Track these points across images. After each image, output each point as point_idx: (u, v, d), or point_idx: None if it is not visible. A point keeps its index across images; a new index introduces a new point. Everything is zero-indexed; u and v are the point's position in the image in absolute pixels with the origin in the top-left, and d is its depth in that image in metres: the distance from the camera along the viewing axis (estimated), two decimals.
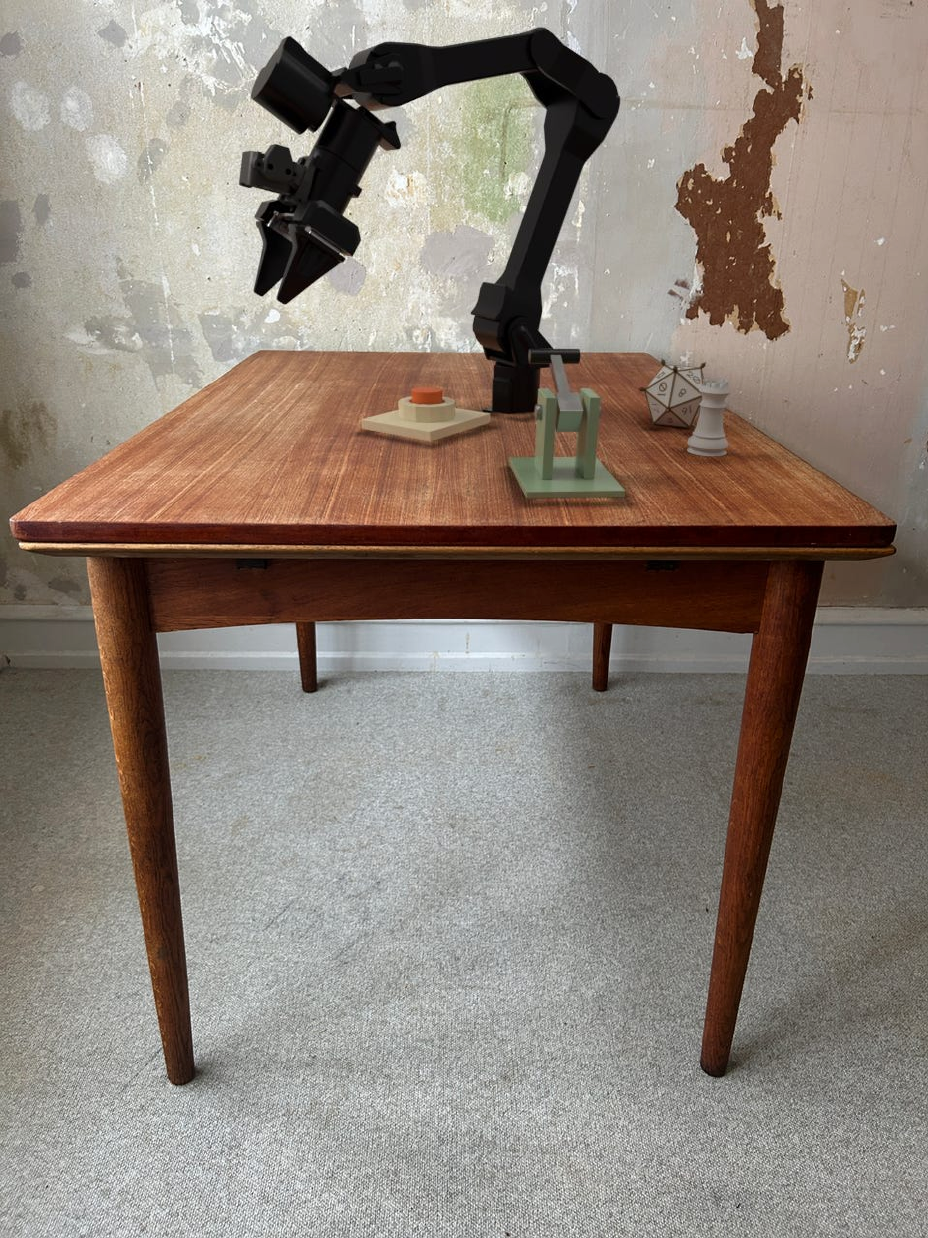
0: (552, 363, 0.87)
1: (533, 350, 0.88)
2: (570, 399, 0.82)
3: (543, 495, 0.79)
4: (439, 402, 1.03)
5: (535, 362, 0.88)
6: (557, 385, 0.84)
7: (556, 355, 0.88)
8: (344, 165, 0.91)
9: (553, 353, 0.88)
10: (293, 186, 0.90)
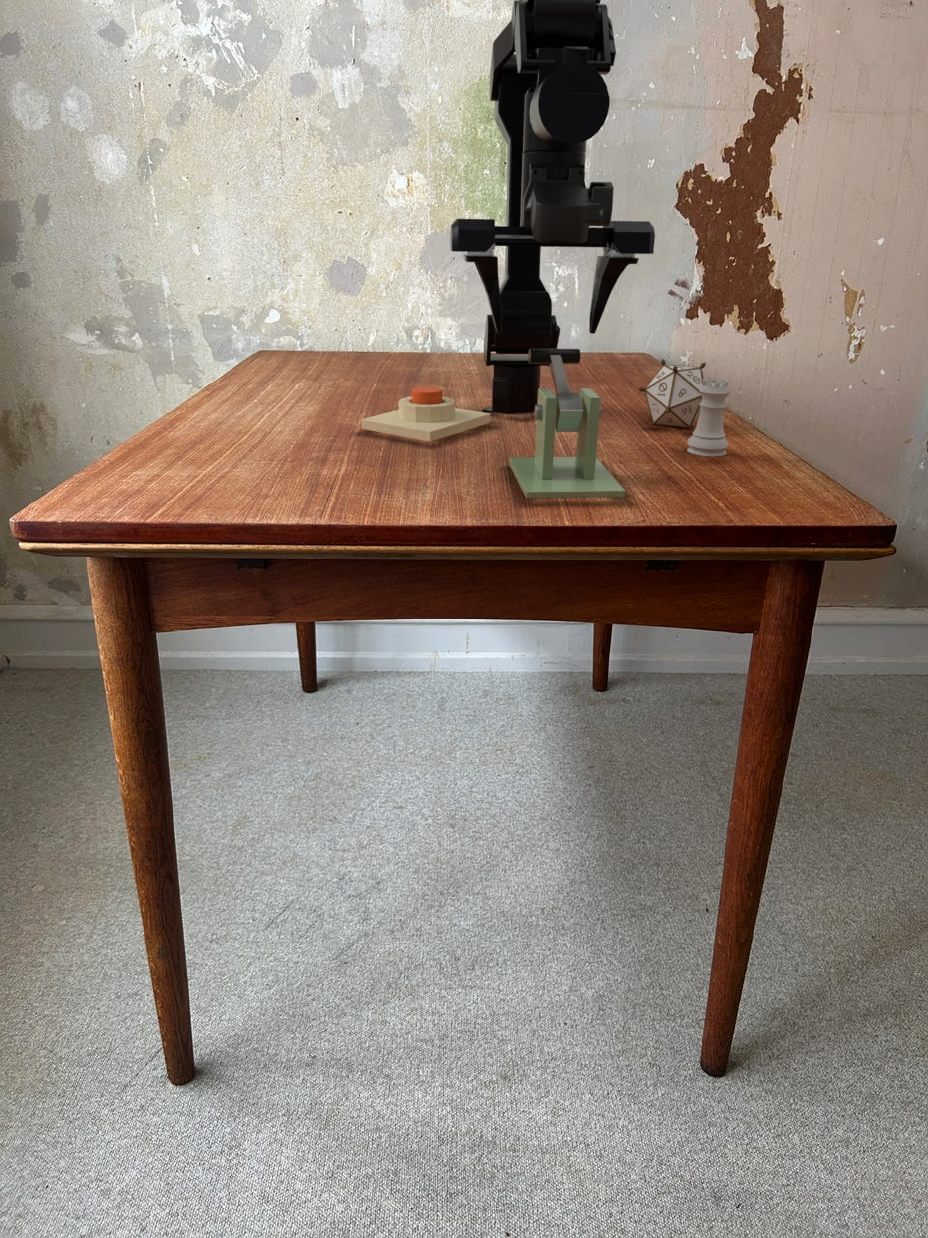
0: (552, 363, 0.87)
1: (533, 350, 0.88)
2: (570, 399, 0.82)
3: (543, 495, 0.79)
4: (439, 402, 1.03)
5: (535, 362, 0.88)
6: (557, 385, 0.84)
7: (556, 355, 0.88)
8: None
9: (553, 353, 0.88)
10: None
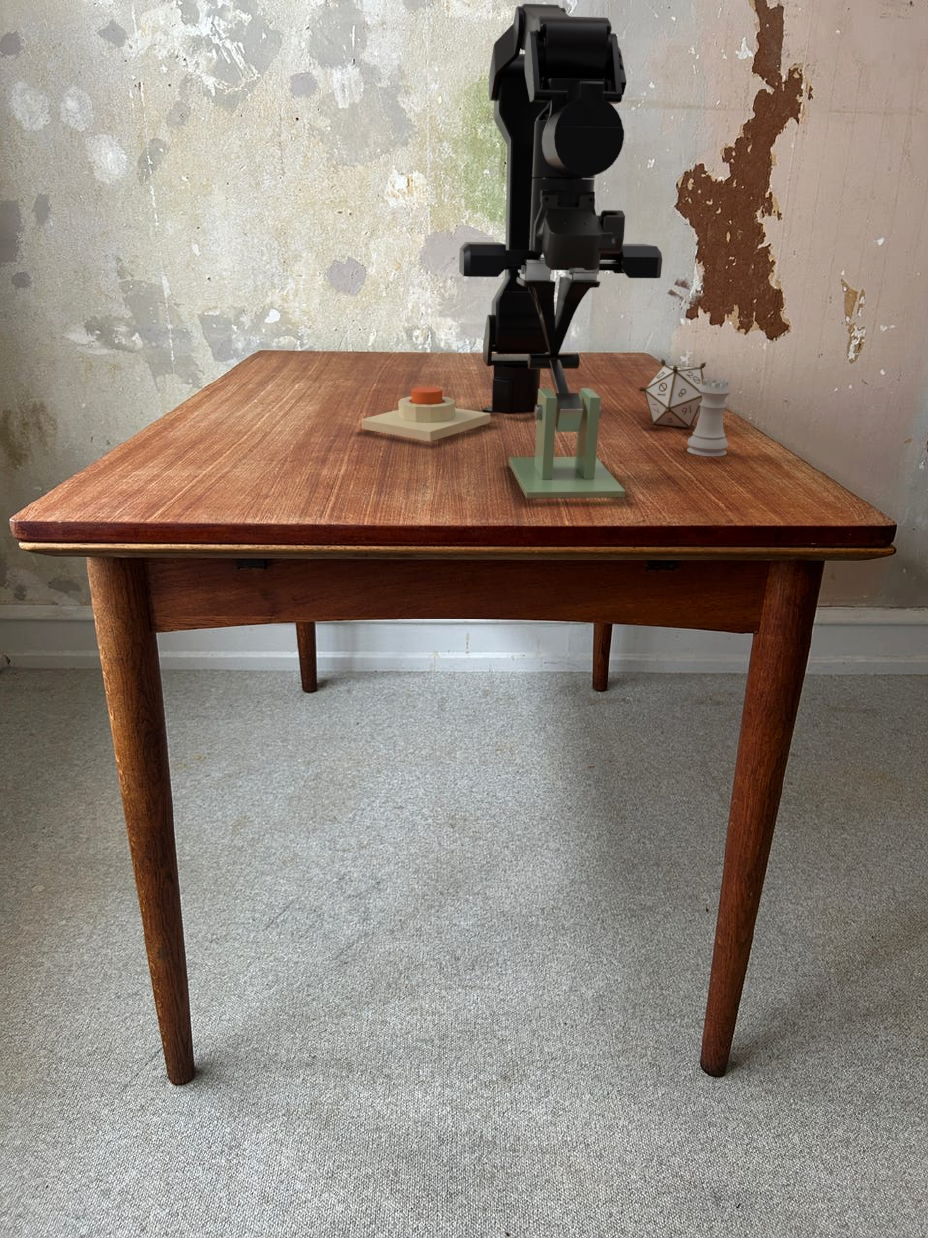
0: (551, 367, 0.87)
1: (532, 355, 0.88)
2: (570, 399, 0.82)
3: (543, 495, 0.79)
4: (439, 402, 1.03)
5: (534, 367, 0.88)
6: (557, 387, 0.85)
7: (555, 359, 0.88)
8: None
9: (552, 358, 0.88)
10: None
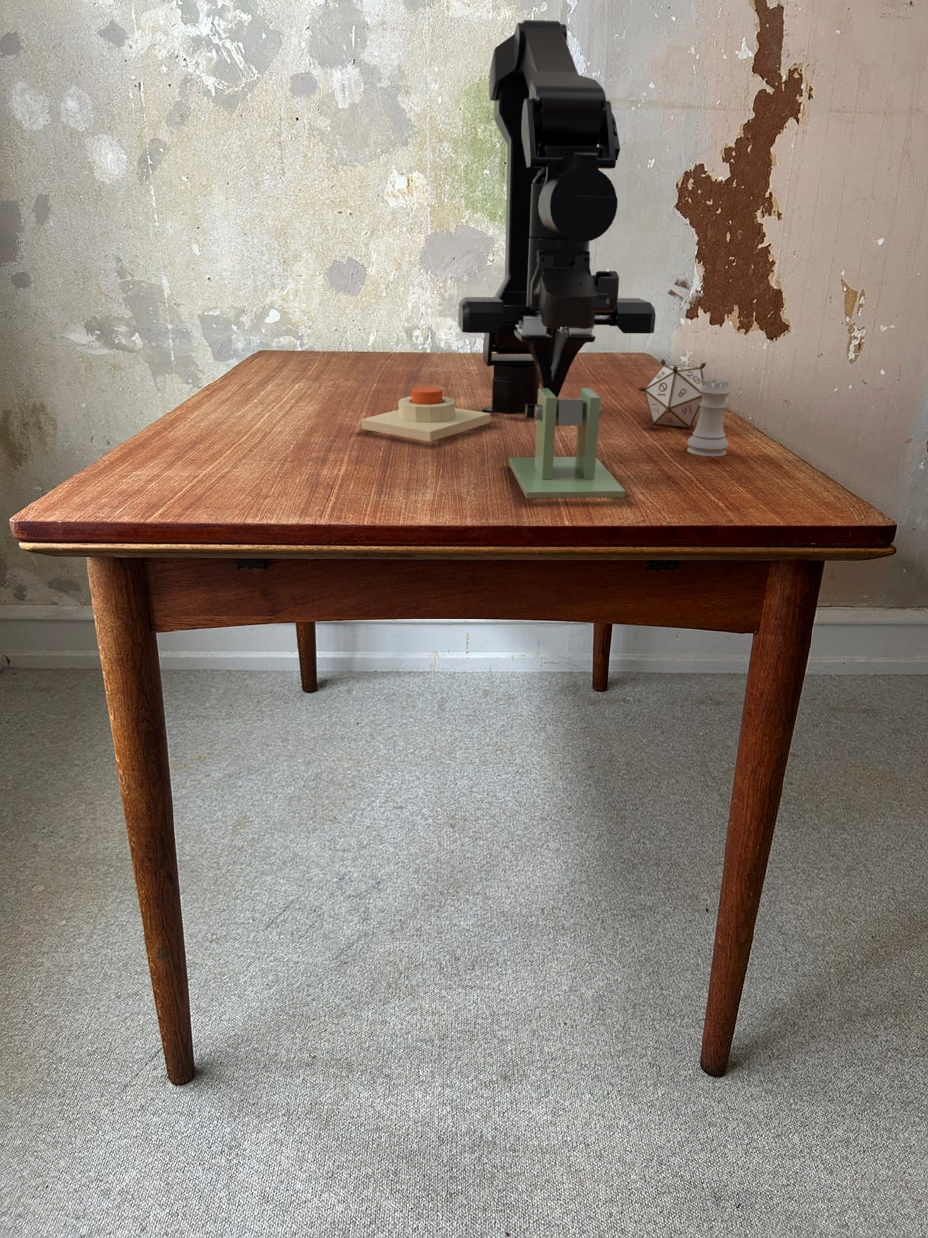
0: None
1: (529, 404, 0.91)
2: None
3: (543, 495, 0.79)
4: (439, 402, 1.03)
5: (532, 413, 0.91)
6: None
7: None
8: None
9: None
10: None
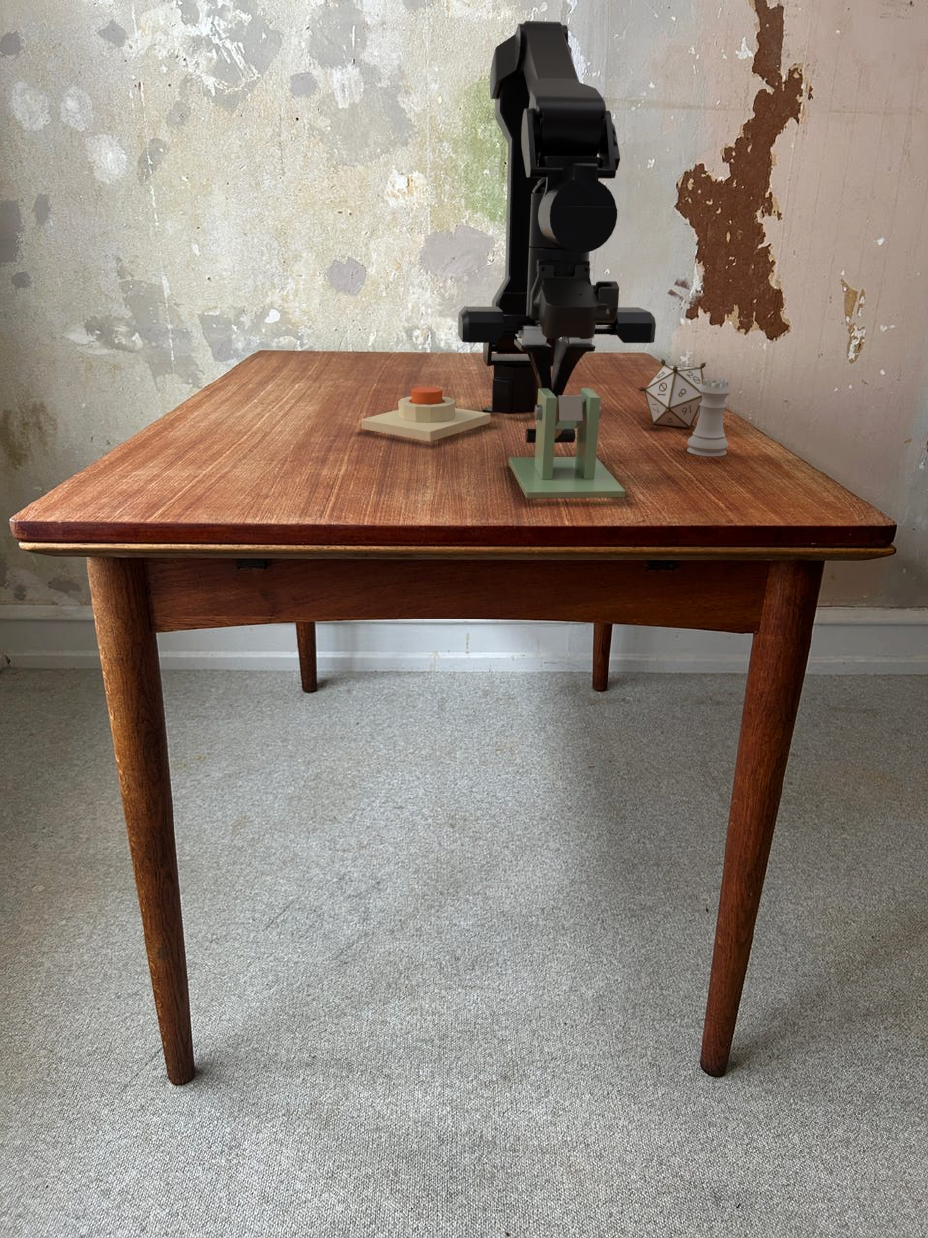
0: None
1: None
2: None
3: (543, 495, 0.79)
4: (439, 402, 1.03)
5: (532, 436, 0.91)
6: None
7: None
8: None
9: None
10: None
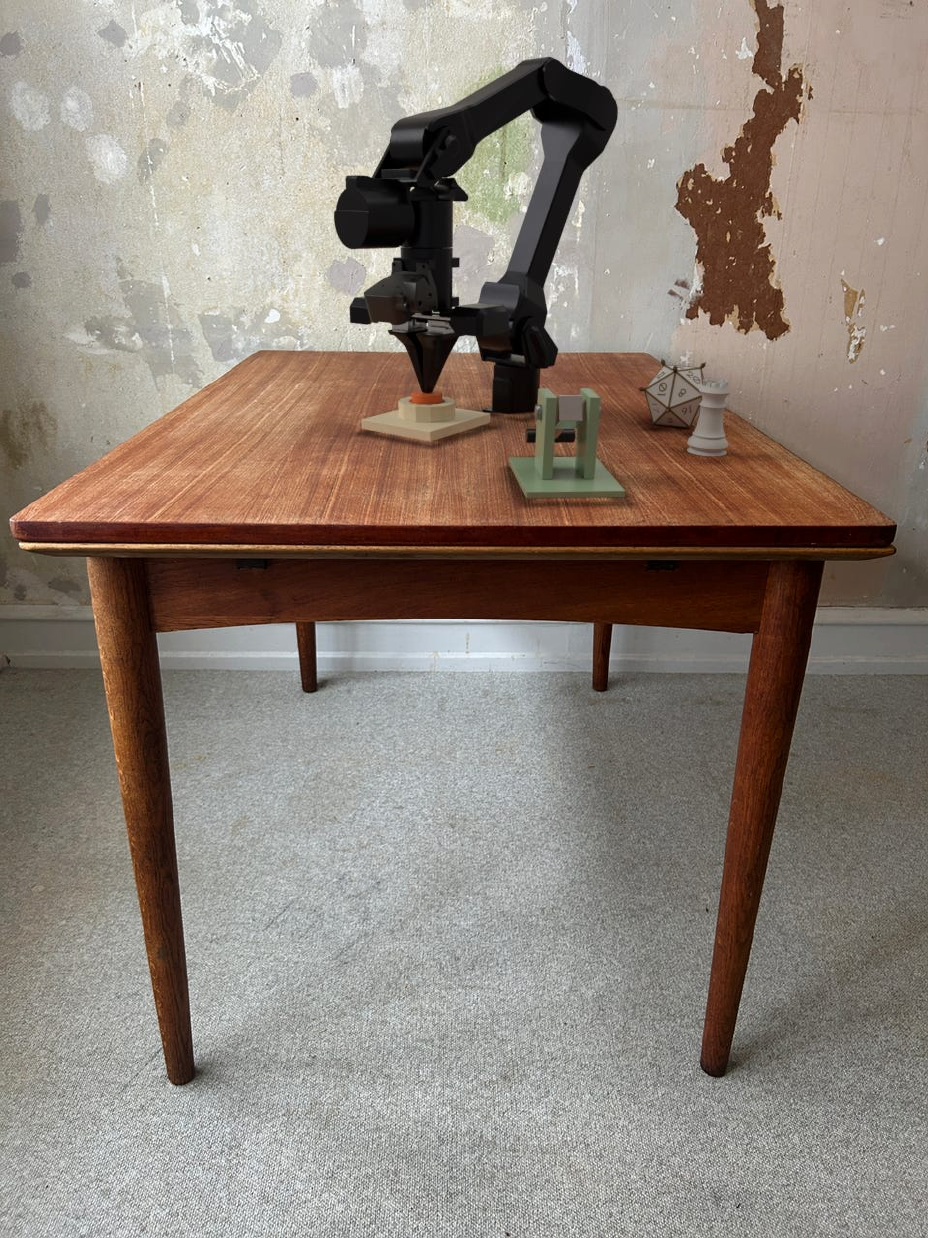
0: None
1: None
2: None
3: (543, 495, 0.79)
4: None
5: (532, 436, 0.91)
6: None
7: None
8: (447, 251, 0.95)
9: None
10: None
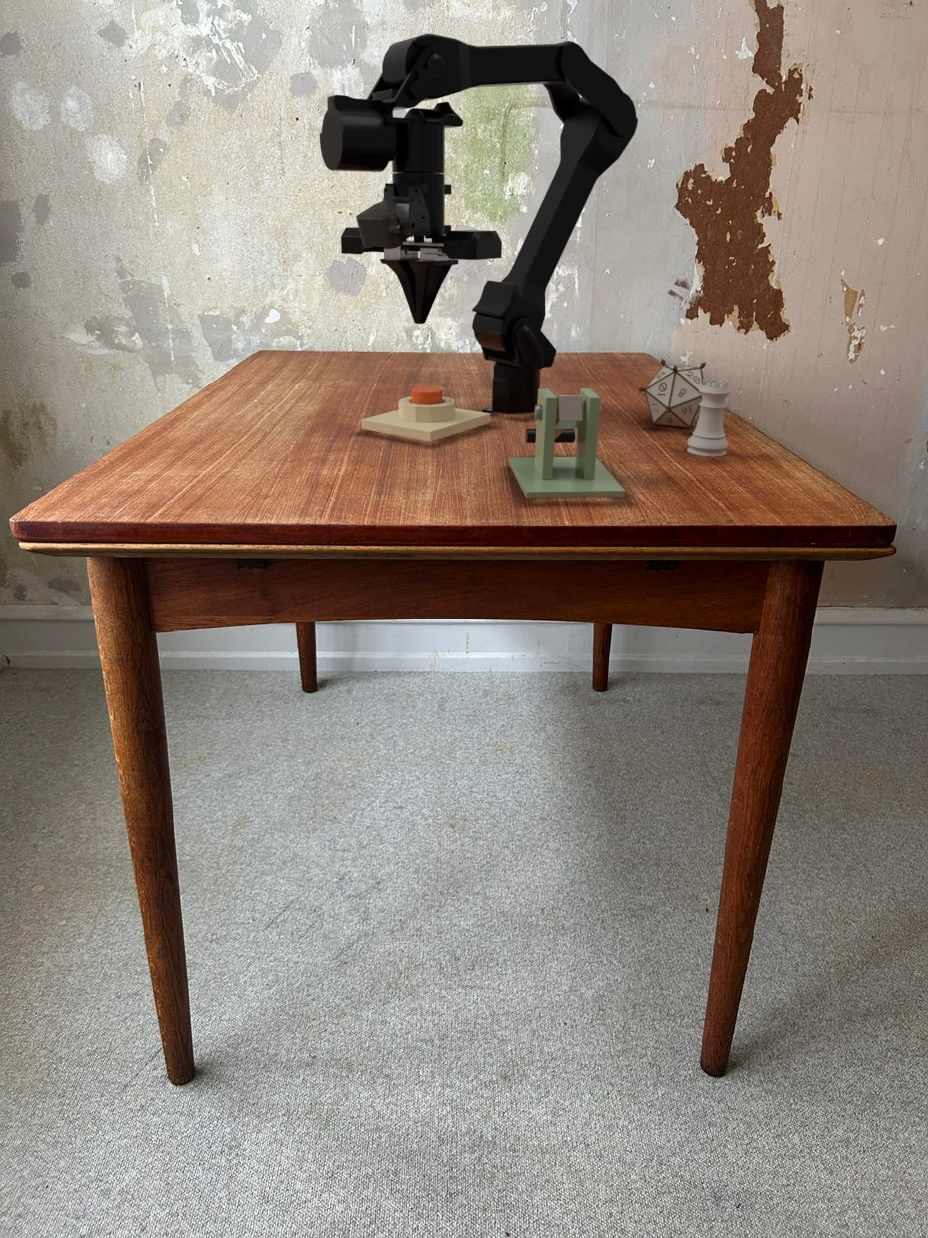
0: None
1: None
2: None
3: (543, 495, 0.79)
4: (439, 402, 1.03)
5: (532, 436, 0.91)
6: None
7: None
8: (439, 176, 0.95)
9: None
10: None
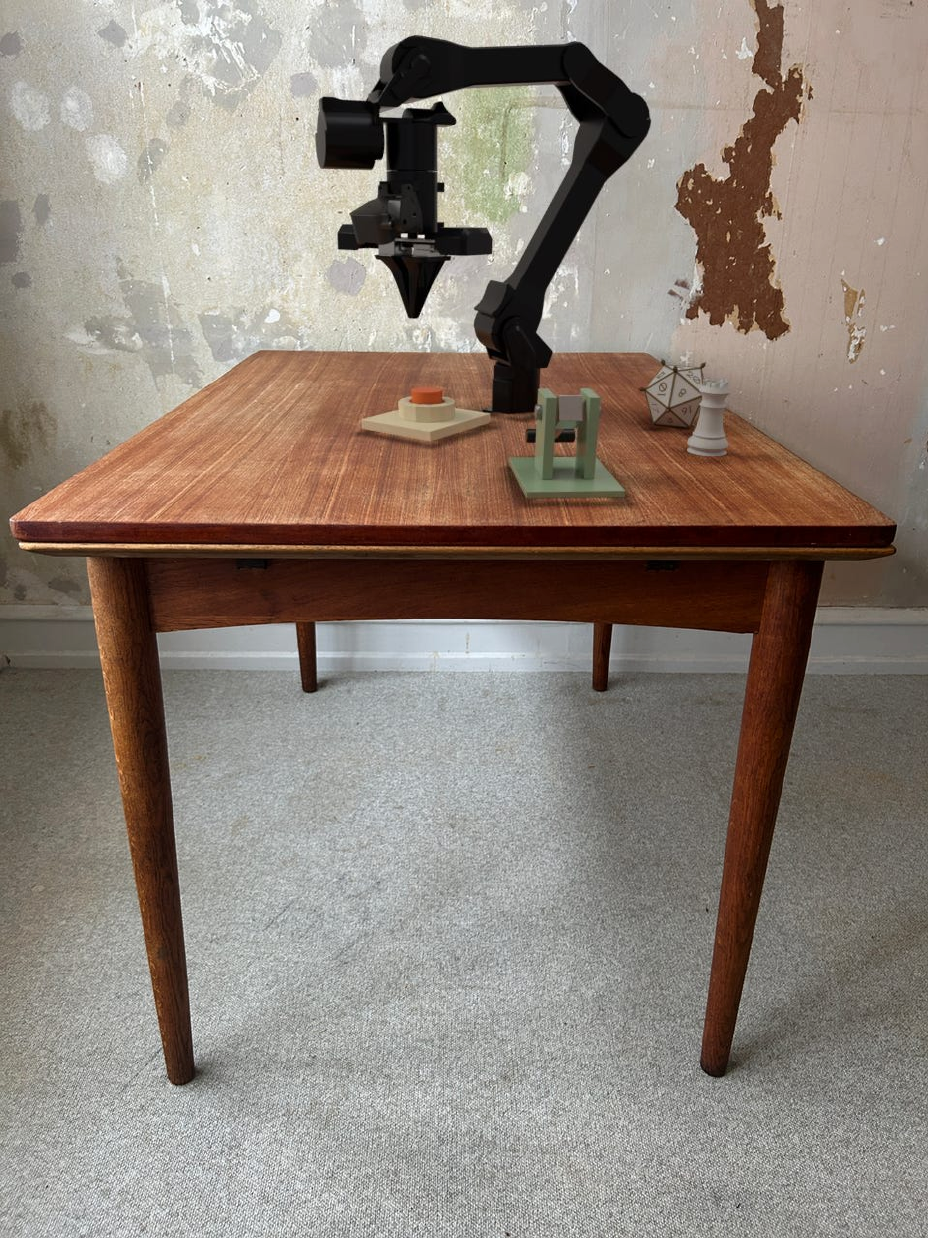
0: None
1: None
2: None
3: (543, 495, 0.79)
4: (439, 402, 1.03)
5: (532, 436, 0.91)
6: None
7: None
8: (432, 174, 0.98)
9: None
10: None
